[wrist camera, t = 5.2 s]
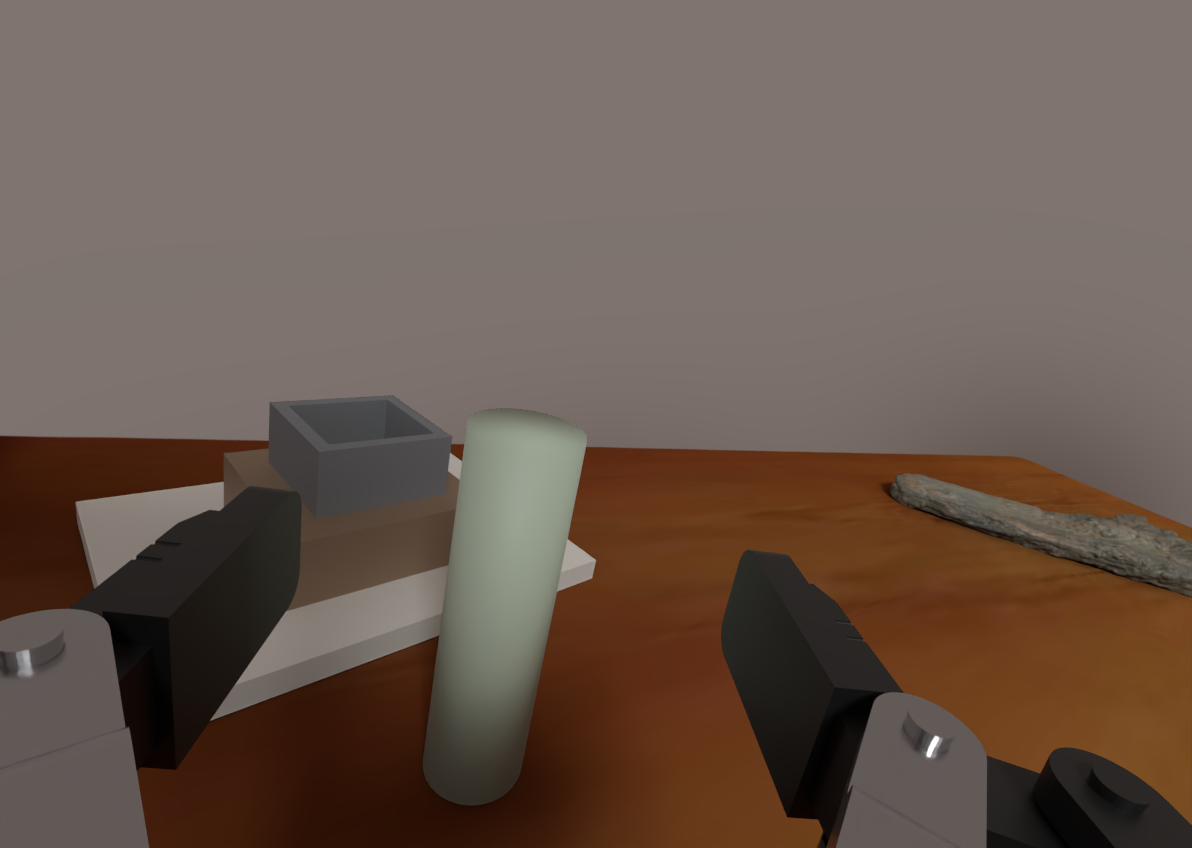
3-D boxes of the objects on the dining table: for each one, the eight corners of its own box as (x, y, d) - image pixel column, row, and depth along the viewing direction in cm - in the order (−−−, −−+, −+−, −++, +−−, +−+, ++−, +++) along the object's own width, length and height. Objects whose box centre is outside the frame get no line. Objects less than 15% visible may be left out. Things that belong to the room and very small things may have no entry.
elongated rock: (882, 492, 77) (885, 524, 69) (894, 454, 76) (898, 482, 67) (1222, 578, 66) (1278, 630, 57) (1245, 537, 64) (1307, 584, 55)
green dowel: (456, 825, 24) (515, 459, 19) (404, 748, 27) (444, 413, 22) (541, 771, 27) (611, 444, 22) (486, 707, 30) (538, 405, 25)
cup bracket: (135, 748, 24) (122, 545, 21) (77, 523, 37) (64, 377, 34) (592, 578, 42) (618, 456, 40) (446, 466, 55) (458, 368, 52)
